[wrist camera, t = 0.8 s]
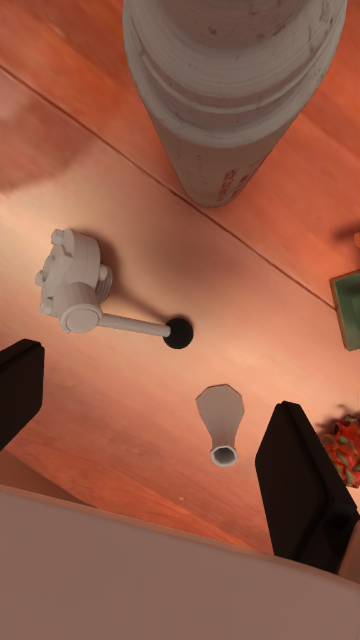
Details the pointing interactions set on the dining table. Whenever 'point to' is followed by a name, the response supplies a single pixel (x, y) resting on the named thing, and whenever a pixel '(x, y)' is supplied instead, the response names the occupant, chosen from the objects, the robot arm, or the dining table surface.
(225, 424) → the flask
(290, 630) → the robot arm
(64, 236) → the mechanical valve
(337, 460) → the dragon fruit
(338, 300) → the bracket
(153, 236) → the dining table surface
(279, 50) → the thermos bottle
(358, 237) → the lever
